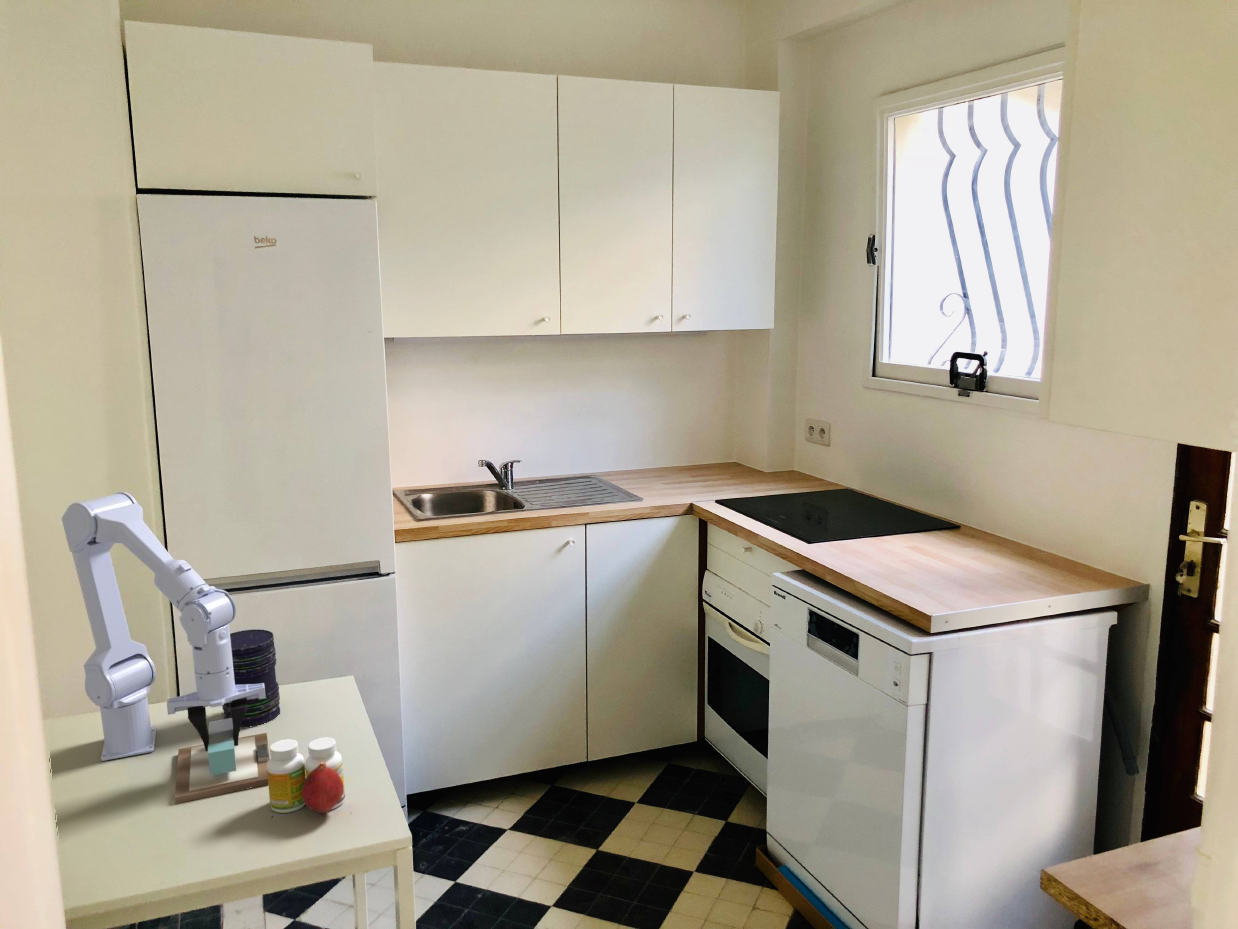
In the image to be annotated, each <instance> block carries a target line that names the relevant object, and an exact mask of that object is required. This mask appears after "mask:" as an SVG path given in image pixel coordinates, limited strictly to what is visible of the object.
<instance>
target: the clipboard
mask: <svg viewBox="0 0 1238 929" xmlns="http://www.w3.org/2000/svg"><path fill="white" fill-rule="evenodd" d="M177 752H178V753H177V754H178V755H177V763H176V778H175V788H174V789H175V790H174V791H175V792H174V802H175V804H181V803H186V802H191V801H195V800H200V799H205V798H209V797H215V796H218V795H219V796H220V795H224V794H230V793H233V792H232V791H235V792H239V791H238V790H240V791H243V790H242V789H245V790H248V789H247V788H250V787H254V788H258V787H257V786H259V787H263V785H264V786H268V776H267V763H268V761H269V760H270V759H271V756H270V747H269V741H268V733H267V732H262V733H258V734H253V735H252V734H251V735H248V736H247V735H245V736H240V737H239V738H238V746H235V758H236V771H232V772H227V773H222V774H217V775H212V776H210V769H209V760H208V751H205V746H204V744H199V745H198V744H197V745H193V746H187V747H181V748H178V751H177ZM250 789H251V788H250ZM229 792H230V793H229Z"/></svg>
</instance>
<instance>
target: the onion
mask: <svg viewBox="0 0 1238 929" xmlns="http://www.w3.org/2000/svg"><path fill="white" fill-rule="evenodd" d="M344 786H345V784H344V785H343V782H342V780H341V778H340V776H339V774H338V773H337V772H336V771H334V770H332V769H330V768H327V767H326V763H325V762H321V763H320V764H319V765H318V766H317V768H316V769H314V770H313V771H312V772H311V773H310V774H309V775H308V776H307V778H306V780H305V782H304V785H303V788H302V796H303V800H304V802H305V805H306V806H307V807H308V808H309V809H311V810H313V811H316V812H319V813H322V814H327V813H329V812H330V811H331V810H333V809H332V808H333V807H334V806H335V805H336V804H337V803H338V802H339V801H340V799H341V797H342V795H343V789H344Z"/></svg>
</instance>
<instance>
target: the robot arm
mask: <svg viewBox="0 0 1238 929" xmlns="http://www.w3.org/2000/svg"><path fill="white" fill-rule="evenodd" d="M61 522H62V526H63V530H64V533H65V537H66V542H67V546H68V549H69V551H70V553H71V554H72V555H71V556H72V558H73V562H74V566H75V571H76V574H77V577H78V582H79V586H80V589H81V594H82V598H83V602H84V605H85V609H86V610H85V611H86V614H87V617H88V622H89V626H90V629H91V632H92V637H93V641H94V644H95V645H94V646H95V649H94V651H93V652H92V653H91V654H90V656H89V657H88V659H87V660H86V661H85V662H84V664H83V669H84V674H85V680H84V690H85V693H86V696H87V698H88V699H89V700H90V701H91V702H92V703H93V704H95V705H96V706H97V707H98V706H99V710H100V717H101V725H102V732H103V741H104V744H103V747H102V752H101V756H100V761H102V762H103V761H104V762H105V761H108V760H115V759H119V758H120V759H121V758H125V757H131V756H137V755H141V754H142V755H143V754H148V753H152V752H154V750H155V745H156V736H157V726H151V718H150V717H151V716H150V710H149V701H148V694H149V693H151V686H152V685H153V684H154V683H155V680H156V678H157V669H156V665H155V662H154V661H153V660H152V658H151V657H150V655H149V653H148V648H147V646H146V645H145V644H143V643H140V642H138V641H135V640H133V639H132V638H131V634H130V628H129V625H128V620H127V618H126V617H127V616H126V613H125V608H124V605H123V601H122V597H121V592H120V589H119V585H118V581H117V577H116V574H115V568H114V564H113V560H112V556H111V553H110V552H111V550H112V548H113V547H114V546H115V544H122V545H123V546H124V547H125V548H127V549H128V550H129V552H131V553H132V554H133V556H135V557H136V558H138V560H140V561H141V563H143V564H144V565H146V567H147V568H149V570H151V572H153V573H154V579H153V580H154V585H155V587H156V588H157V589H158V590H159V591H160V592H161V593H162V594H163V596H165V597H166V599H168V601H169V602H170V603H171V604H172V605H173V606H174V607H175V608H176V610H178V611H179V612H180V614H181V615H180V616H179V617H178V618H179V623H180V626H181V627H182V629H183V630H184V632H185V633H186V637H187V642H188V644H189V646H191V652H192V659H193V660H192V662H193V670H194V678H195V689H196V691H192V692H190V693H186V694H183V695H179V696H176V697H171V698H167V699H166V709H167V715H168V716H169V715H170V716H171V715H175V714H176V713H177V712H184V711H187V719H188V721H189V722H190V723H191V725H192V726H193V727H194V728H195V730H196V732H197V733H198V734H199V736H200V738H201V741H202V743H203V744H204V746H205V751H208V745H209V727H208V723H207V722H208V720H207V711H206V707H210V708H217V707H222V705H224V704H225V703H231V713H232V722H233V740H234V746H238V738H240V737H239V736H240V733H241V732H240V731H241V728H240V727H241V724H242V721H243V718H244V716H245V713H246V711H247V707H248V706H247V700H249V699H254V698H258V699H264V698H266V697H265V687H264V683H260V684H246V685H235V680H234V670H233V660H232V649H231V639H230V634H231V632H230V623H232V622H233V621H234V619H235V618H236V614H237V607H236V604H235V601H234V599H233V598H232V596H231V595H230V593H229V592H228V591H226V590H225V589H220V588H219V589H218V588H217V587H215V586H214V585H211V586H210V585H209V584H208V583H207V582H206V580H204V579H203V578H202V577H201V575H200V574H199V573H198V572H196V570H195V569H194V568H193V567H192V565H190V564H189V563H188V562H187V561H186V560H184V559H174V558H173V557H172V555H171V554H170V553H169V552H168V551H167V549H166V548H165V547H164V545H163V544H162V543H161V541H160V540H159V539H158V537H157V536H156V535H155V534H154V533H153V531H152V530H151V529H150V528H149V526H148V525H147V523H146V522H145V521H144V511H143V507H142V506H141V505H140V504H139V503H138V501H137V500H136V499H135V498H134V496H133V495H131V494H130V493H129V492H126V491H119V492H116V493H114V494H113V493H112V494H110V495H106V496H102V497H97V498H93V499H89V500H85V501H81V502H78V501H76V502H73V503H70V505H68V506H67V508H66V510H65V512H64V513H63V514H62V517H61ZM203 744H202V745H203Z"/></svg>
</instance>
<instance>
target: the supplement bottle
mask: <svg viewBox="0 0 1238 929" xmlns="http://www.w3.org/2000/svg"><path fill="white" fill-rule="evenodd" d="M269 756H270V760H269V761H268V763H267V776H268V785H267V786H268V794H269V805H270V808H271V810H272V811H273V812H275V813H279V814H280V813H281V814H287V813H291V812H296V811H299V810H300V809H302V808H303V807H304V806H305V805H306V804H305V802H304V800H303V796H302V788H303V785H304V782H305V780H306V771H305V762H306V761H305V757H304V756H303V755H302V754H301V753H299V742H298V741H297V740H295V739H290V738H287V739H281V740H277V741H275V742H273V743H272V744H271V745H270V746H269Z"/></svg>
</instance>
